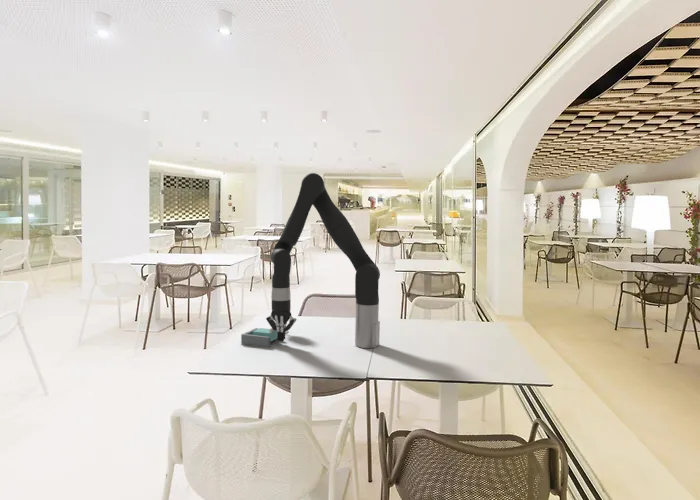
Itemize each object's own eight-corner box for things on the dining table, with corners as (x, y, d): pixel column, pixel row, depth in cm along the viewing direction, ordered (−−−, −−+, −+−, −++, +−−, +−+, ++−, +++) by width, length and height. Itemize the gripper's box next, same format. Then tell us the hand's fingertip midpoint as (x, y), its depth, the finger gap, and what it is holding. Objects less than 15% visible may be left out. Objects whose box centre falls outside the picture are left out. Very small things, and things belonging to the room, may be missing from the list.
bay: (281, 340, 202) (281, 330, 201) (268, 347, 191) (268, 337, 190) (255, 337, 206) (256, 328, 205) (241, 344, 195) (241, 334, 194)
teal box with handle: (277, 341, 199) (277, 326, 199) (270, 345, 194) (270, 329, 193) (259, 339, 202) (259, 324, 201) (252, 343, 196) (252, 327, 195)
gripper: (300, 297, 195) (300, 339, 197) (270, 295, 199) (271, 337, 201) (292, 301, 188) (292, 344, 189) (261, 298, 192) (262, 341, 194)
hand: (281, 340), depth 195 cm, fingers closed
